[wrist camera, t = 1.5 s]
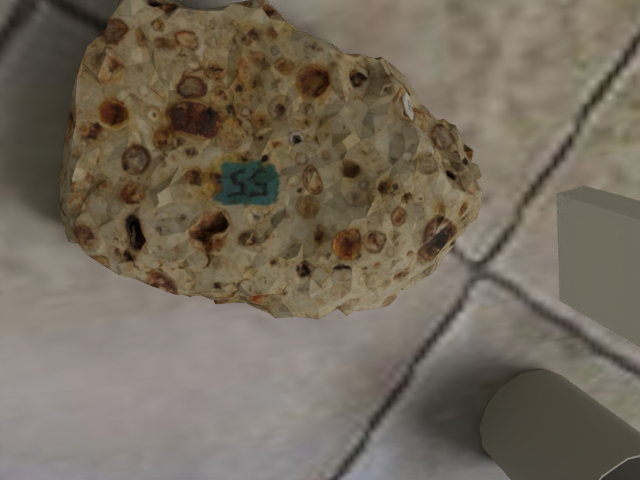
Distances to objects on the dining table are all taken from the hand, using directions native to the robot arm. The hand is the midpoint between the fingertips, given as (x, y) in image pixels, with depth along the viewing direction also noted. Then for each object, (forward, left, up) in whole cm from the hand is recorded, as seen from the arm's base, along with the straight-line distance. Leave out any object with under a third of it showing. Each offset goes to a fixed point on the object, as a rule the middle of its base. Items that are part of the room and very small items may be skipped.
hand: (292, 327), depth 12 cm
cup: (+23, +21, -21) cm, 37 cm away
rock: (0, +3, -21) cm, 21 cm away
